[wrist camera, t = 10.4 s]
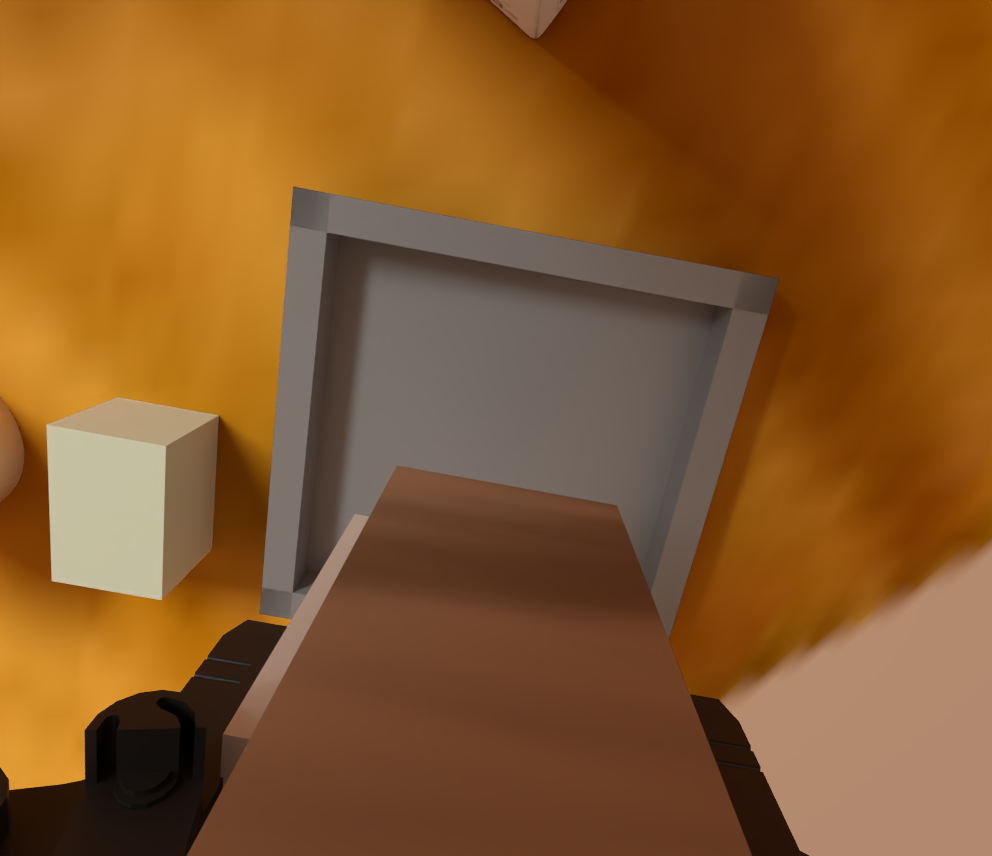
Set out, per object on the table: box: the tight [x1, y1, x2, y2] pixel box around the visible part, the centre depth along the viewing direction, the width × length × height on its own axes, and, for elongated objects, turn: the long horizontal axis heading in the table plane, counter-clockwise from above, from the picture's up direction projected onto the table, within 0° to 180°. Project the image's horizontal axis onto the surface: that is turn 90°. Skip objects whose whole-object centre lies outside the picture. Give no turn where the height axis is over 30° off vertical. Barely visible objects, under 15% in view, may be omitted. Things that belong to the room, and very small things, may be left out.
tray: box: [260, 187, 779, 639], centre depth 23 cm, size 16×16×2 cm
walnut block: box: [187, 465, 752, 856], centre depth 10 cm, size 5×5×10 cm
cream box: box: [47, 397, 219, 600], centre depth 23 cm, size 6×4×4 cm, turn 170°
